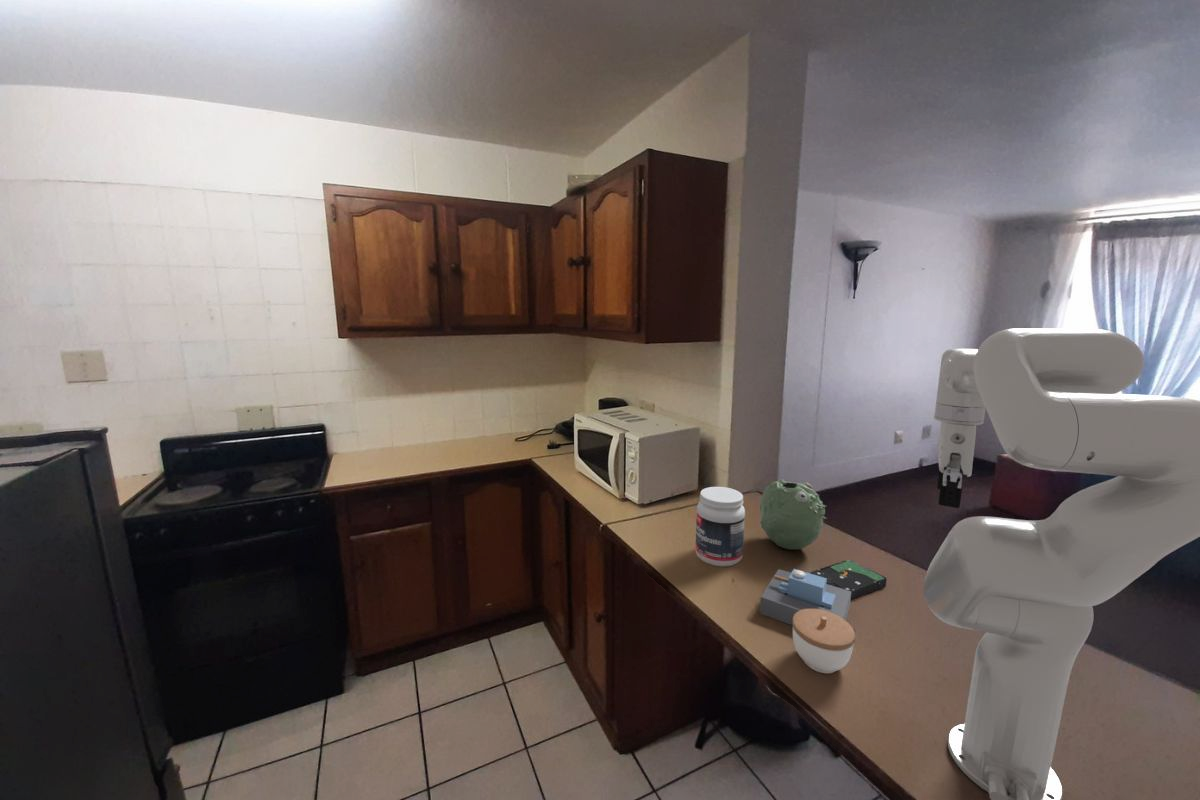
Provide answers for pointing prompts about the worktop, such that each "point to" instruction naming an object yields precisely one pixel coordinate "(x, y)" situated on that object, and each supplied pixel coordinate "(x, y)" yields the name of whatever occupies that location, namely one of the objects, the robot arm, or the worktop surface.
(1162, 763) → the worktop surface
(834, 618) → the lidded jar
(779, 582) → the plate
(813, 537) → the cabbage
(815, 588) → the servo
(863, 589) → the disk drive
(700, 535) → the supplement tub
